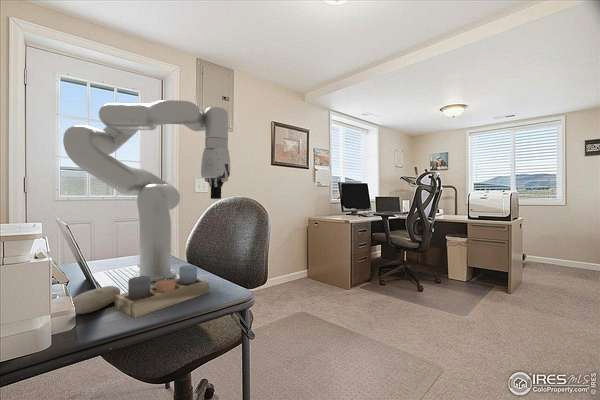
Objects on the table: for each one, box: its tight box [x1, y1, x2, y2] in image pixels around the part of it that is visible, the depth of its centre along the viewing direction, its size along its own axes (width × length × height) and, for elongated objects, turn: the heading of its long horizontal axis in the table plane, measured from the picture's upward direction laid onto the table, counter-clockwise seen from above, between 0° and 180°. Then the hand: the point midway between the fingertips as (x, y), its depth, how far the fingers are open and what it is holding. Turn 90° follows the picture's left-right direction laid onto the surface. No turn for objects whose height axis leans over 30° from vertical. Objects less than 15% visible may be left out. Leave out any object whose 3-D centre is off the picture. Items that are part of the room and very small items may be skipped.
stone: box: [71, 285, 121, 315], centre depth 71 cm, size 6×6×12 cm
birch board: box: [114, 278, 210, 319], centre depth 78 cm, size 10×21×3 cm, turn 147°
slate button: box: [178, 264, 198, 284], centre depth 83 cm, size 5×5×4 cm
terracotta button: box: [155, 279, 175, 293], centre depth 77 cm, size 5×5×4 cm
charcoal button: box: [127, 276, 151, 298], centre depth 72 cm, size 5×5×4 cm
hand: (215, 198), depth 98 cm, fingers closed
